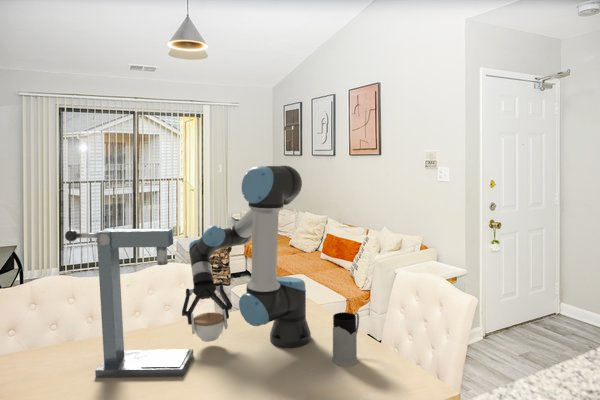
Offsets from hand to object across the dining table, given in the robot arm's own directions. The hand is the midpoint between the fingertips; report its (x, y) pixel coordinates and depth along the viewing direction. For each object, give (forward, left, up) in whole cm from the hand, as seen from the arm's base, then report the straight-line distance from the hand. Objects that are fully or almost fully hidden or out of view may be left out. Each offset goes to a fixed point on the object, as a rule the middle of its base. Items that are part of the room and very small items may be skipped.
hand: (210, 329), depth 153 cm
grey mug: (-48, +7, -7) cm, 49 cm away
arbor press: (+24, +12, -7) cm, 28 cm away
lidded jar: (+1, -3, -4) cm, 5 cm away
